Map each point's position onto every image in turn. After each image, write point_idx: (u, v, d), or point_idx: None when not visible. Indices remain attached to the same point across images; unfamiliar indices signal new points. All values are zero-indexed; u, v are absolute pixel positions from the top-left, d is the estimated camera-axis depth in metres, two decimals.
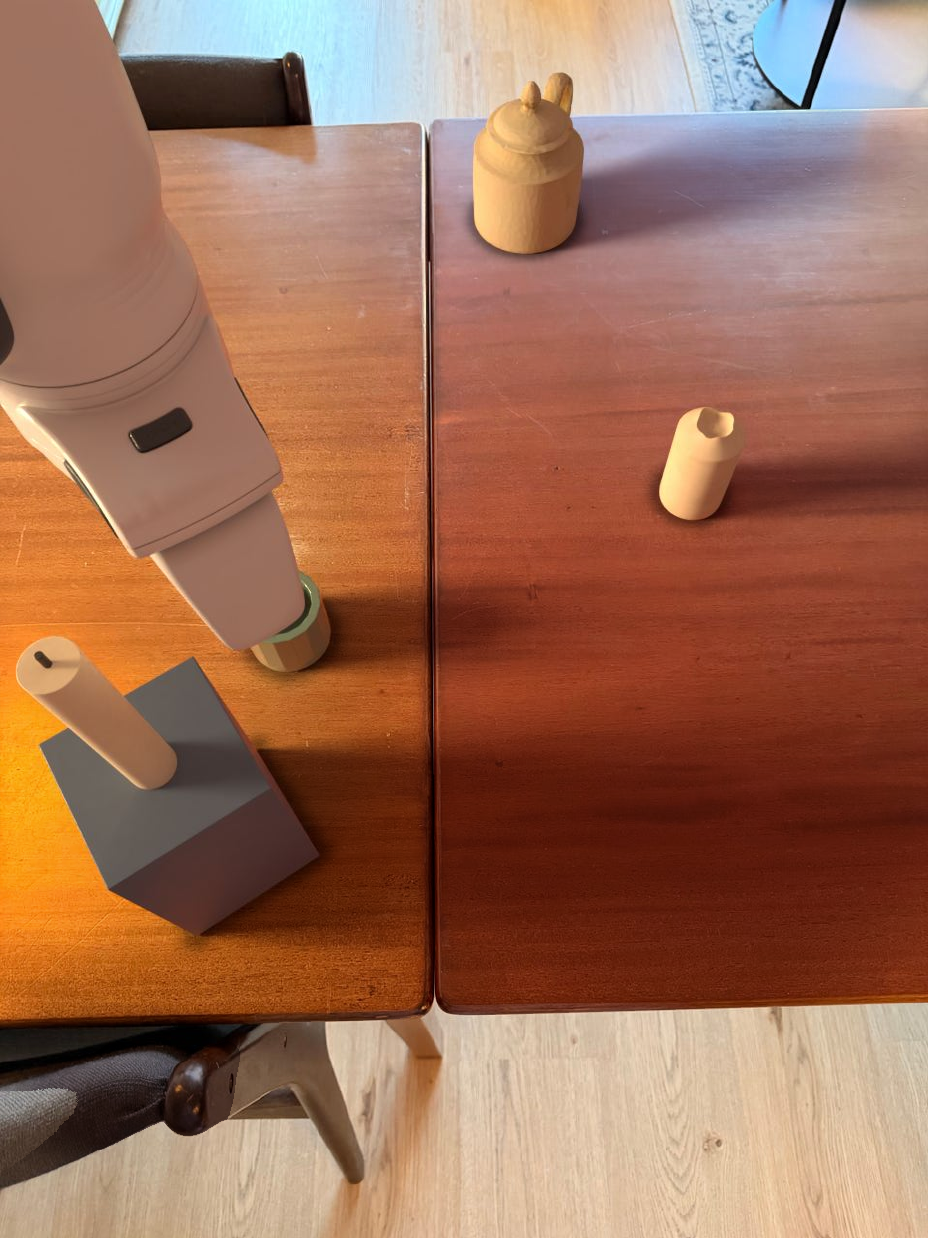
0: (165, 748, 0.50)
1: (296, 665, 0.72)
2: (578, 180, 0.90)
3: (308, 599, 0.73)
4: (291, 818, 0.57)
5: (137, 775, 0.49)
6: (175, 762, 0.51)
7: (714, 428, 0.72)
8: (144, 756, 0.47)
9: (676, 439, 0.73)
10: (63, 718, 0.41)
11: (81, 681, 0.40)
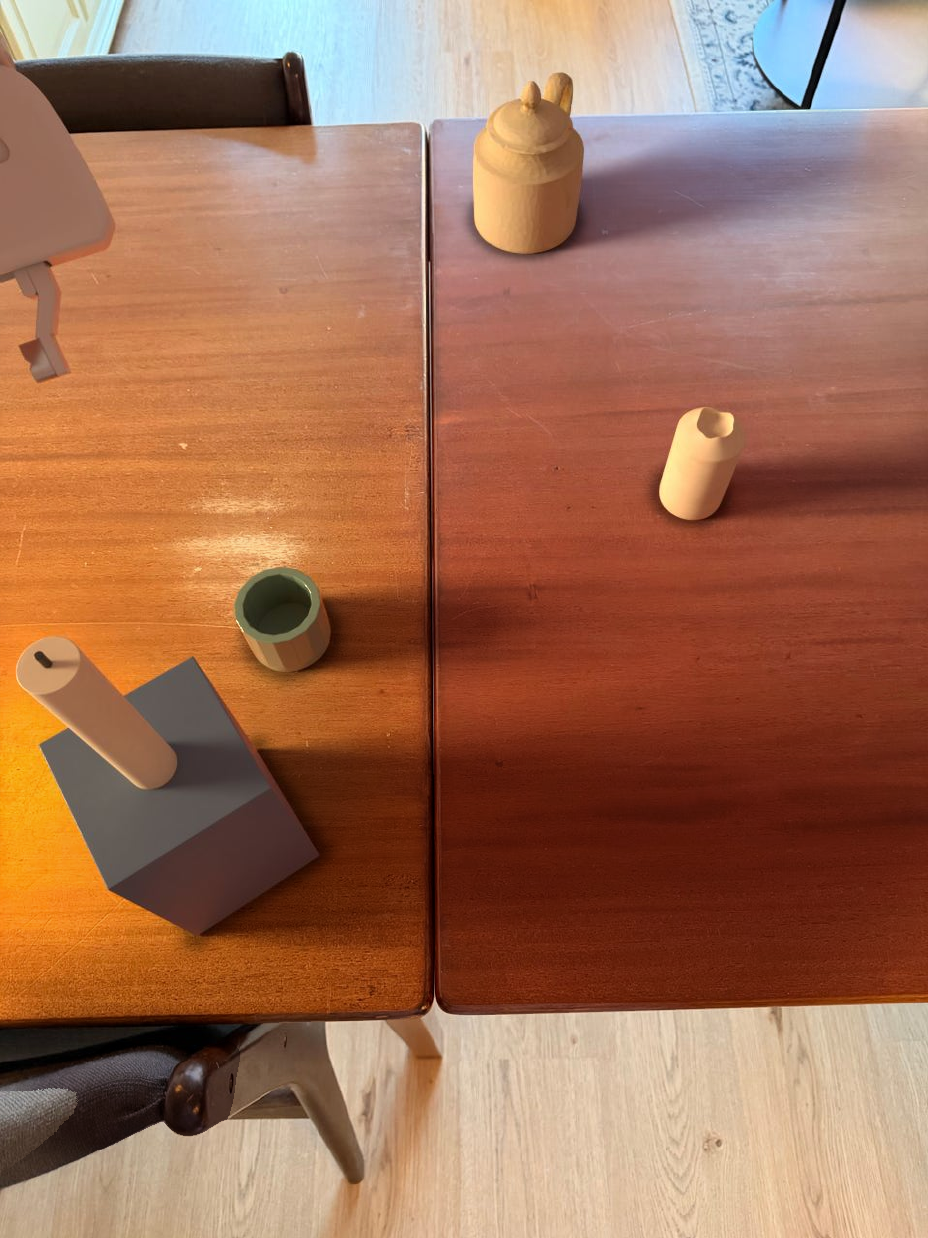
0: (165, 748, 0.50)
1: (296, 665, 0.72)
2: (578, 180, 0.90)
3: (308, 599, 0.73)
4: (291, 818, 0.57)
5: (137, 775, 0.49)
6: (175, 762, 0.51)
7: (714, 428, 0.72)
8: (144, 756, 0.47)
9: (676, 439, 0.73)
10: (63, 718, 0.41)
11: (81, 681, 0.40)
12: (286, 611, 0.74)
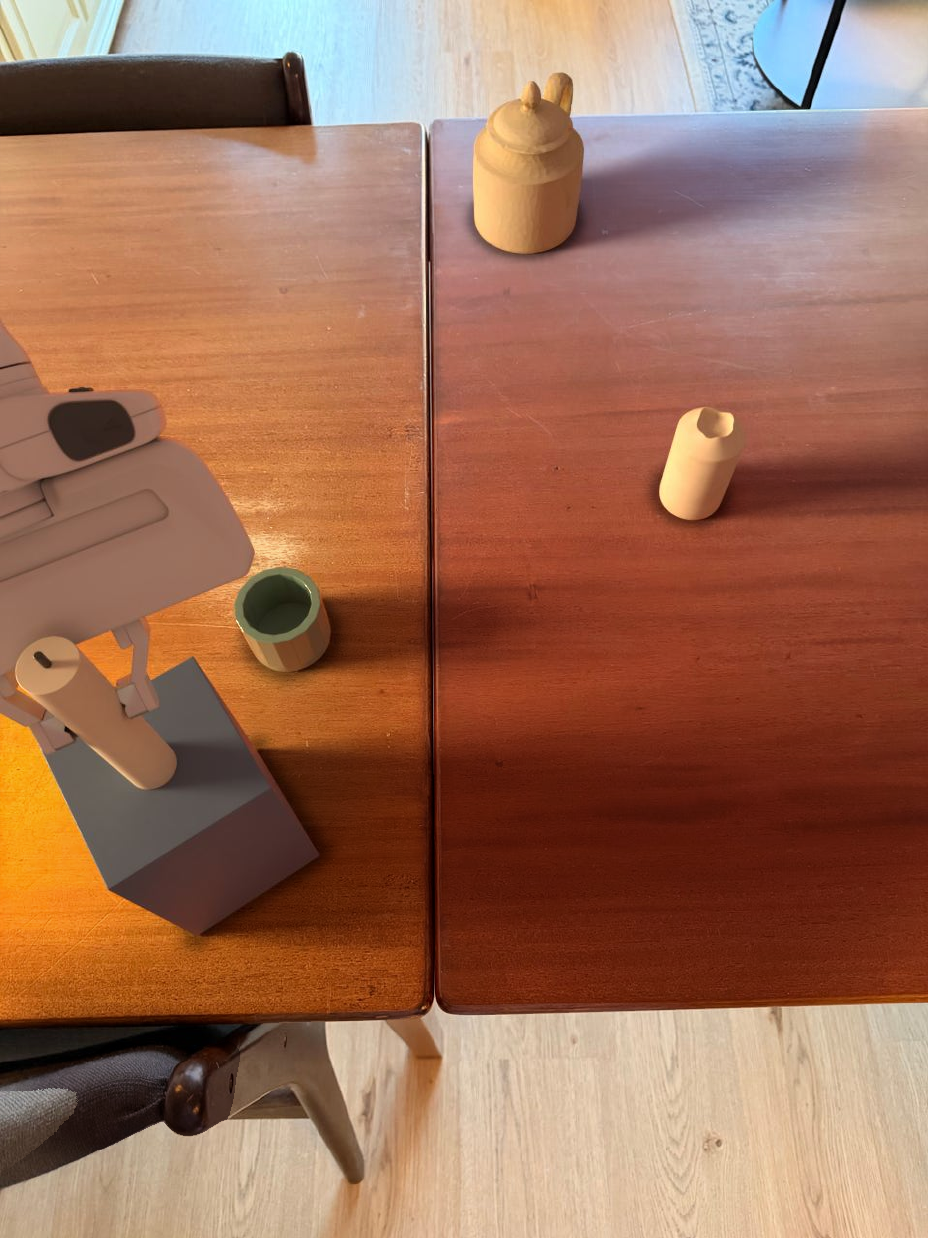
0: (164, 748, 0.50)
1: (296, 665, 0.72)
2: (578, 180, 0.90)
3: (308, 599, 0.73)
4: (291, 818, 0.57)
5: (136, 775, 0.49)
6: (174, 762, 0.51)
7: (714, 428, 0.72)
8: (143, 756, 0.47)
9: (676, 439, 0.73)
10: (63, 718, 0.41)
11: (81, 681, 0.40)
12: (286, 611, 0.74)
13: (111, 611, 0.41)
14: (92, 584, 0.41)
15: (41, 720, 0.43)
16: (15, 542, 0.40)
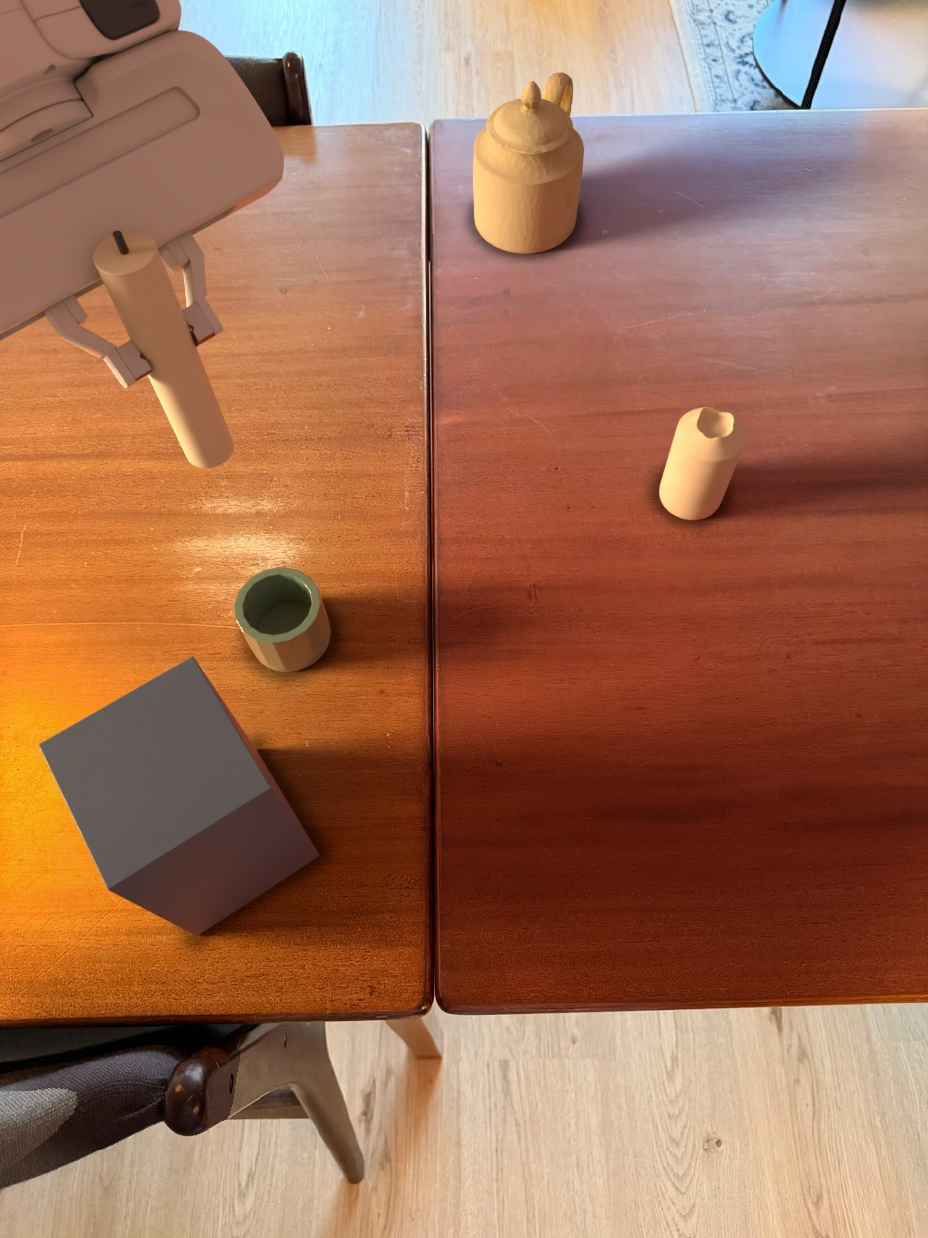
0: None
1: (296, 665, 0.72)
2: (578, 180, 0.90)
3: (308, 599, 0.73)
4: (291, 818, 0.57)
5: (204, 438, 0.50)
6: (231, 438, 0.52)
7: (714, 428, 0.72)
8: (210, 406, 0.48)
9: (676, 439, 0.73)
10: (144, 323, 0.42)
11: (160, 265, 0.41)
12: (286, 611, 0.74)
13: (165, 216, 0.43)
14: (143, 188, 0.42)
15: None
16: (61, 148, 0.40)
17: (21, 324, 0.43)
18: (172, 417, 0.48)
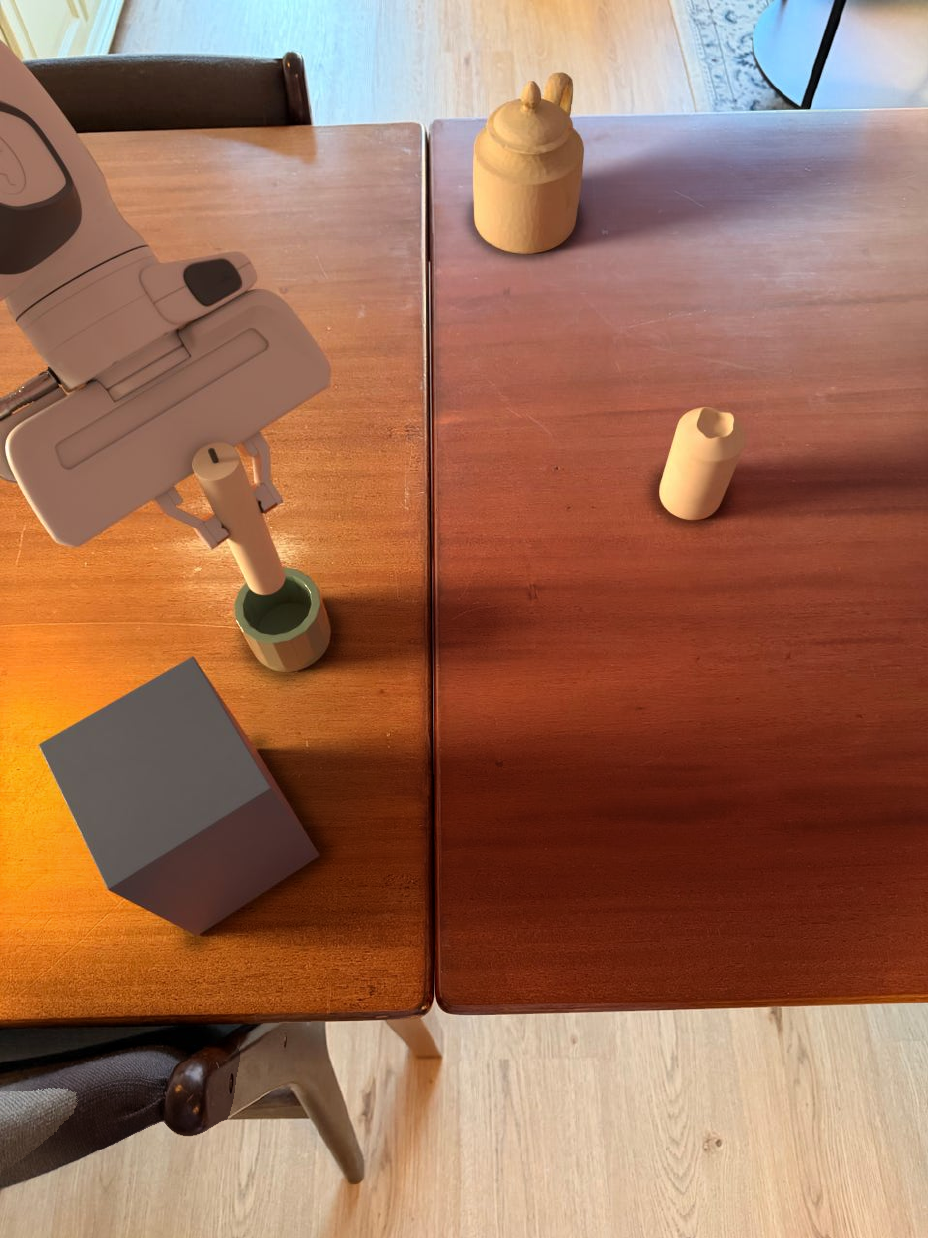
0: None
1: (296, 665, 0.72)
2: (578, 180, 0.90)
3: (308, 599, 0.73)
4: (291, 818, 0.57)
5: (264, 576, 0.63)
6: None
7: (714, 428, 0.72)
8: (270, 553, 0.62)
9: (676, 439, 0.73)
10: (227, 508, 0.55)
11: (241, 469, 0.54)
12: (286, 611, 0.74)
13: (242, 425, 0.56)
14: (226, 405, 0.55)
15: (204, 521, 0.57)
16: (167, 381, 0.54)
17: None
18: (241, 562, 0.62)
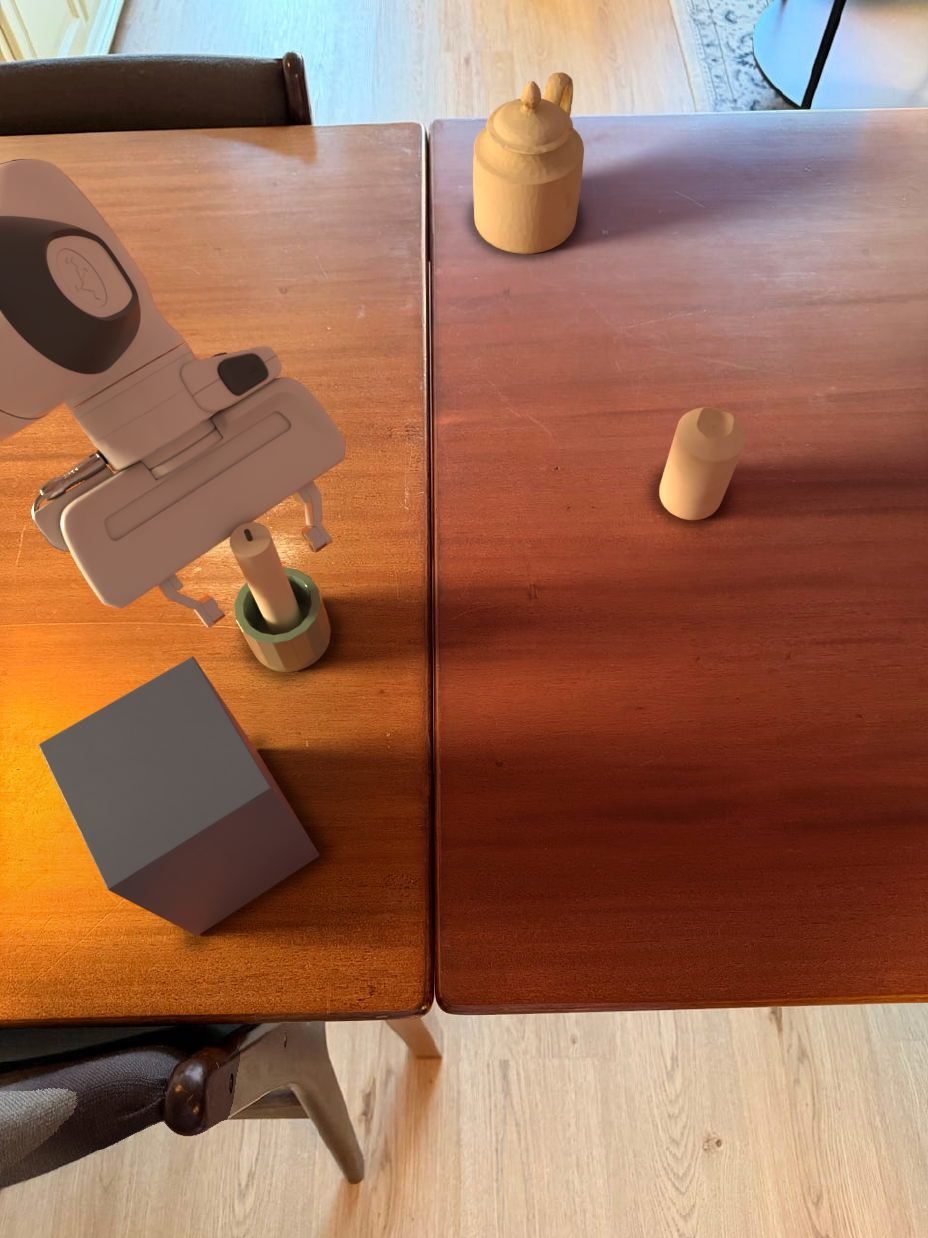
0: None
1: (296, 665, 0.72)
2: (578, 180, 0.90)
3: (308, 599, 0.73)
4: (291, 818, 0.57)
5: (288, 631, 0.71)
6: None
7: (714, 428, 0.72)
8: (294, 612, 0.69)
9: (676, 439, 0.73)
10: (258, 578, 0.63)
11: (272, 545, 0.62)
12: None
13: (268, 496, 0.63)
14: (253, 480, 0.62)
15: (202, 603, 0.63)
16: (202, 460, 0.61)
17: None
18: (268, 620, 0.69)
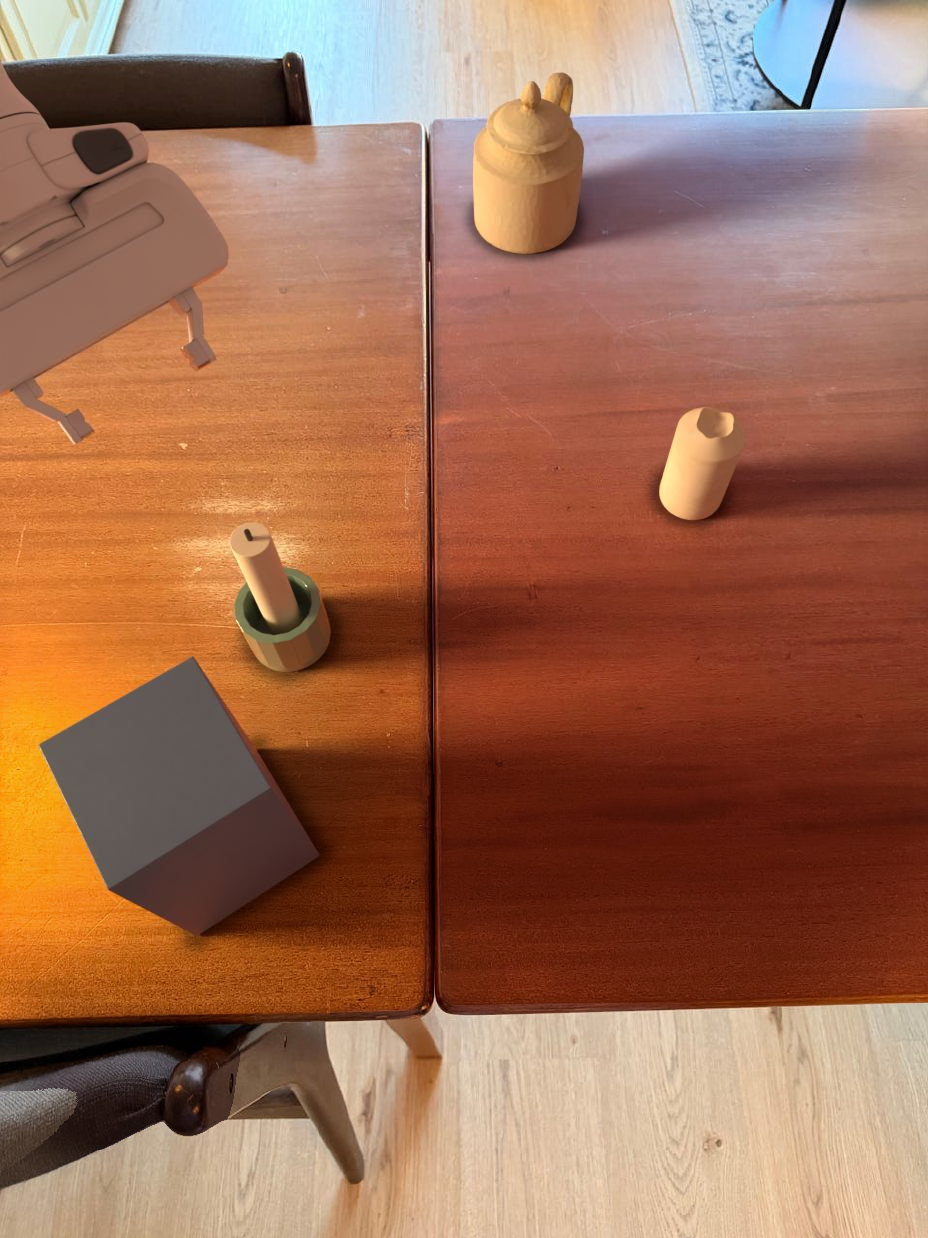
0: None
1: (296, 665, 0.72)
2: (578, 180, 0.90)
3: (308, 599, 0.73)
4: (291, 818, 0.57)
5: (288, 631, 0.71)
6: None
7: (714, 428, 0.72)
8: (294, 612, 0.69)
9: (676, 439, 0.73)
10: (258, 578, 0.63)
11: (272, 545, 0.62)
12: None
13: (138, 297, 0.57)
14: (121, 277, 0.57)
15: (66, 414, 0.57)
16: (61, 250, 0.55)
17: None
18: (268, 620, 0.69)
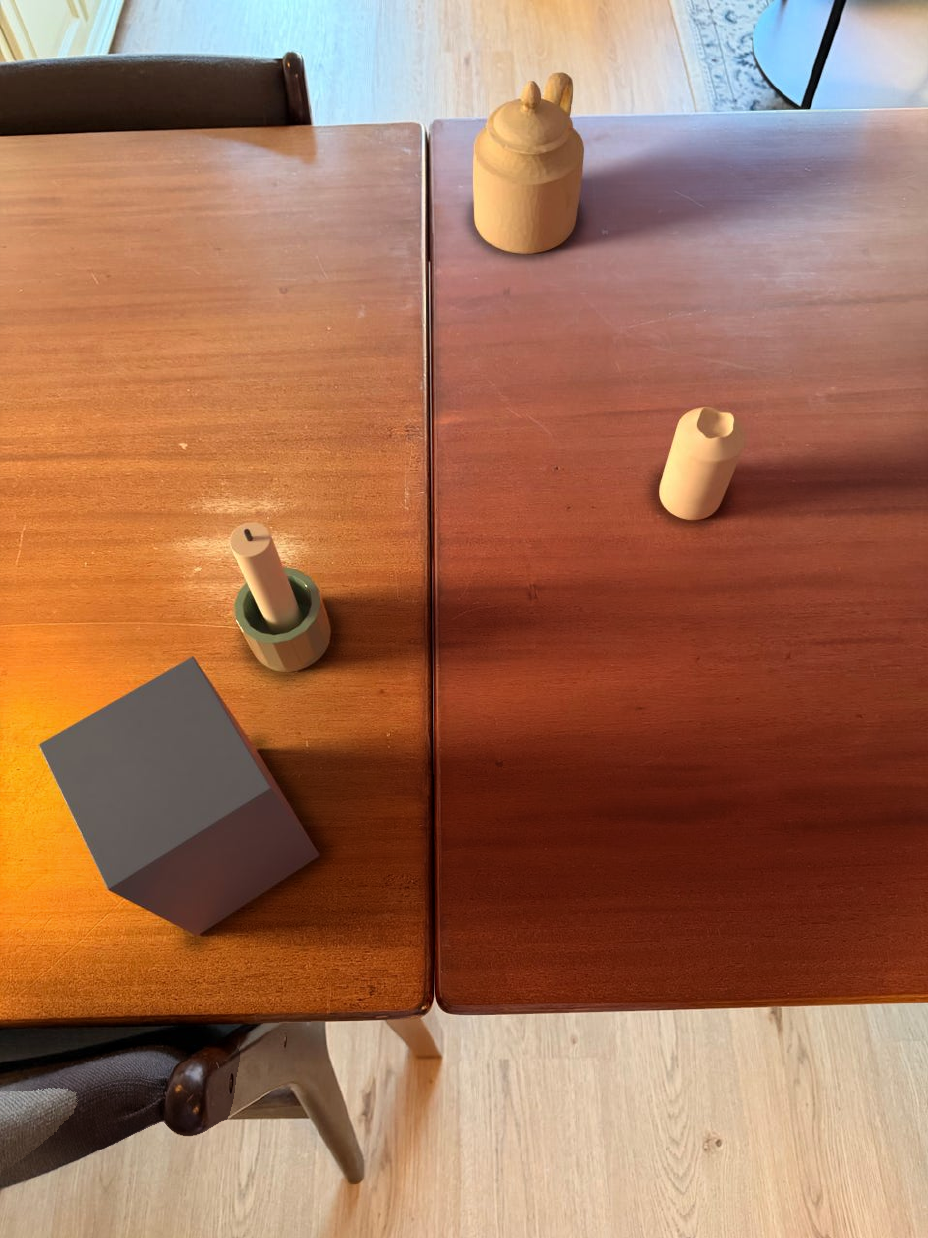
0: None
1: (296, 665, 0.72)
2: (578, 180, 0.90)
3: (308, 599, 0.73)
4: (291, 818, 0.57)
5: (288, 631, 0.71)
6: None
7: (714, 428, 0.72)
8: (294, 612, 0.69)
9: (676, 439, 0.73)
10: (258, 578, 0.63)
11: (272, 545, 0.62)
12: None
13: None
14: None
15: None
16: None
17: None
18: (268, 620, 0.69)
